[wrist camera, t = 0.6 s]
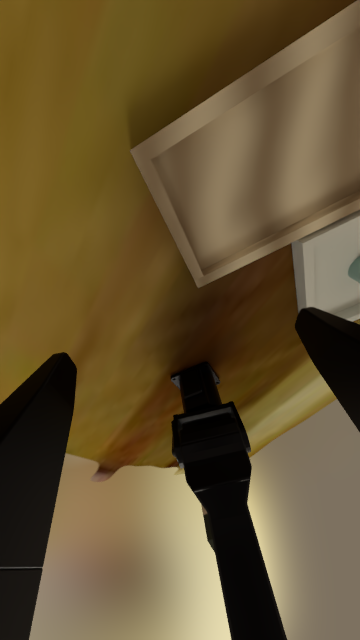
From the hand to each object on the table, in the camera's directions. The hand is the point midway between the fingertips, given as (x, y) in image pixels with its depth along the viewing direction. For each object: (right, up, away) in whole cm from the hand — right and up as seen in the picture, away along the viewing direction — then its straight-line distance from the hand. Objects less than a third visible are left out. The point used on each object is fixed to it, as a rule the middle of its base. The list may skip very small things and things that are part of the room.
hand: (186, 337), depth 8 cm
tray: (+7, +13, +9) cm, 17 cm away
